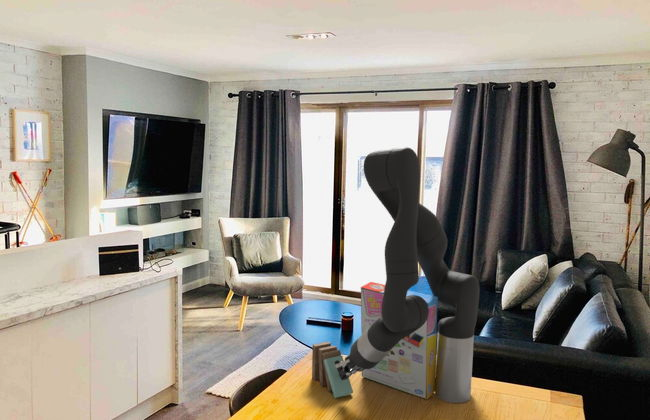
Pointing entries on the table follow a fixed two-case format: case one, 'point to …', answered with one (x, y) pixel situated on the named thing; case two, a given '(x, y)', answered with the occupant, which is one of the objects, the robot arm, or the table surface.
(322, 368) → the domino
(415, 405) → the table surface
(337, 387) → the teal domino
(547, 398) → the table surface
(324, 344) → the domino
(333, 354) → the domino
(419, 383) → the game box
